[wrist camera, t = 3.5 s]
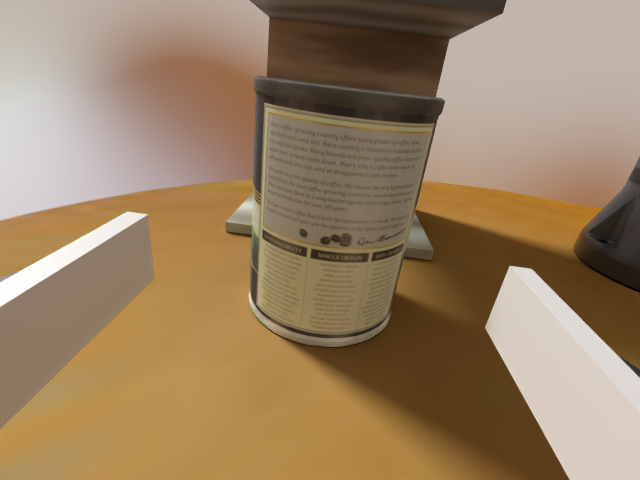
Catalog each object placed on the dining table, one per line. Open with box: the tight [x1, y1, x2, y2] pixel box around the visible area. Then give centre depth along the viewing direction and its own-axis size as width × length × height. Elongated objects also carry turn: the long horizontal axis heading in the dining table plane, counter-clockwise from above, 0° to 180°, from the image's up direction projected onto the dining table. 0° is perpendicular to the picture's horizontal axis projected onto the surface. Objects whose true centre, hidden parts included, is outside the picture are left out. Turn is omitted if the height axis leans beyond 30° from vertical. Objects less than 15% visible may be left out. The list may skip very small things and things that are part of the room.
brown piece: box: [226, 0, 506, 260], centre depth 35 cm, size 16×20×22 cm
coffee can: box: [249, 76, 445, 347], centre depth 22 cm, size 10×10×14 cm
